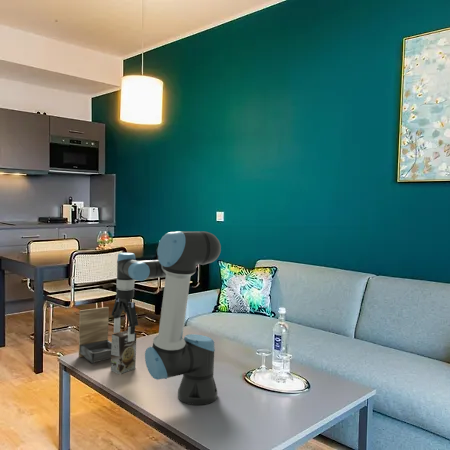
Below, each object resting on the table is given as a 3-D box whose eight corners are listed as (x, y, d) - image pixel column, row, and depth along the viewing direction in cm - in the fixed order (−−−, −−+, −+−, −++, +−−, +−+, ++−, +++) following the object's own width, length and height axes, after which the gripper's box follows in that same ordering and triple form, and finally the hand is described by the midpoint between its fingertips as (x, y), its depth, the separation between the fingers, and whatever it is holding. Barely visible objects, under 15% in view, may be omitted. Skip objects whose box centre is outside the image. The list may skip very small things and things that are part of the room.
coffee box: (119, 374, 187) (120, 337, 186) (110, 370, 190) (111, 334, 190) (136, 368, 194) (137, 332, 193) (126, 365, 198) (127, 329, 197)
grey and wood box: (121, 360, 203) (122, 313, 201) (91, 367, 194) (92, 317, 193) (106, 351, 214) (107, 306, 213) (78, 357, 205) (79, 310, 204)
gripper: (147, 293, 183) (145, 343, 185) (120, 282, 202) (118, 328, 204) (131, 295, 178) (129, 346, 180) (104, 284, 198) (103, 330, 199)
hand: (123, 336), depth 192 cm, fingers open, 13 cm apart
